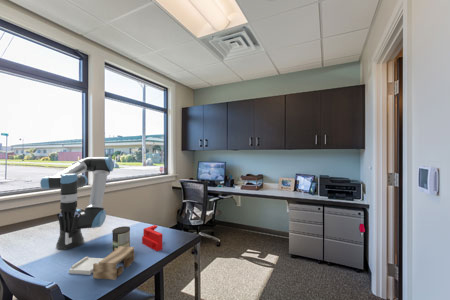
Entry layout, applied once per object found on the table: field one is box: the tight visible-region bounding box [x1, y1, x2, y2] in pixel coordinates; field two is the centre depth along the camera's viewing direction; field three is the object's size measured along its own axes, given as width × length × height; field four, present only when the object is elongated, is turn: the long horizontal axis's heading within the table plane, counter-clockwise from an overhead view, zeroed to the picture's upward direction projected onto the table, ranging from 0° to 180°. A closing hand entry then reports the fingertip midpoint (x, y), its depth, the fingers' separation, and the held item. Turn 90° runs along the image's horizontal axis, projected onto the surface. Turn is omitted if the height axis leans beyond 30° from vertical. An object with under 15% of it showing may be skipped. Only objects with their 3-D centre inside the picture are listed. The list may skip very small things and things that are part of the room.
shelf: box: [92, 246, 135, 281], centre depth 108 cm, size 12×17×8 cm
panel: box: [68, 256, 105, 276], centre depth 110 cm, size 12×12×4 cm
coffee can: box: [111, 225, 131, 253], centre depth 128 cm, size 10×10×14 cm
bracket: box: [141, 224, 163, 252], centre depth 137 cm, size 18×10×10 cm
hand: (68, 243), depth 111 cm, fingers closed
